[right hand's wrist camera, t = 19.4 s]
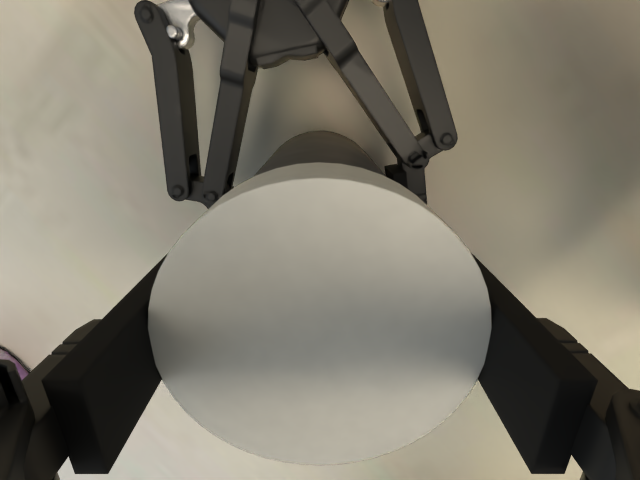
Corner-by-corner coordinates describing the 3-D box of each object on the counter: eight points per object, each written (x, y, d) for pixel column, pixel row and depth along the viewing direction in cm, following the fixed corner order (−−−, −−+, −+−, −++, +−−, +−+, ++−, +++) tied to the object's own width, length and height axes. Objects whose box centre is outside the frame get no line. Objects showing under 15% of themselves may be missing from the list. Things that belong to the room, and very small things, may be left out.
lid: (299, 445, 15) (295, 504, 13) (117, 281, 12) (73, 321, 10) (511, 324, 13) (551, 371, 10) (350, 90, 10) (359, 87, 8)
